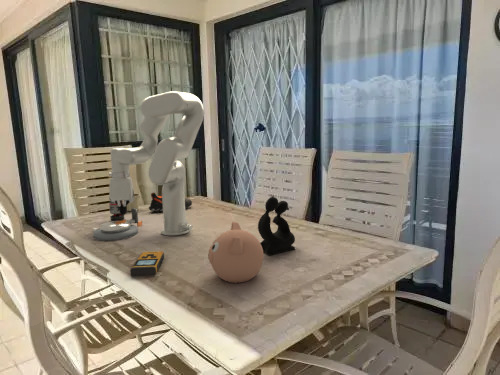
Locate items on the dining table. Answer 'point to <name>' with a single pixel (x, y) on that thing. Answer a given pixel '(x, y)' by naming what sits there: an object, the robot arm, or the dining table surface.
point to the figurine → (282, 236)
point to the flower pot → (134, 203)
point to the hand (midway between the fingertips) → (123, 214)
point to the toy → (236, 255)
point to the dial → (120, 224)
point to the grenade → (115, 211)
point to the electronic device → (147, 264)
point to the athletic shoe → (158, 205)
